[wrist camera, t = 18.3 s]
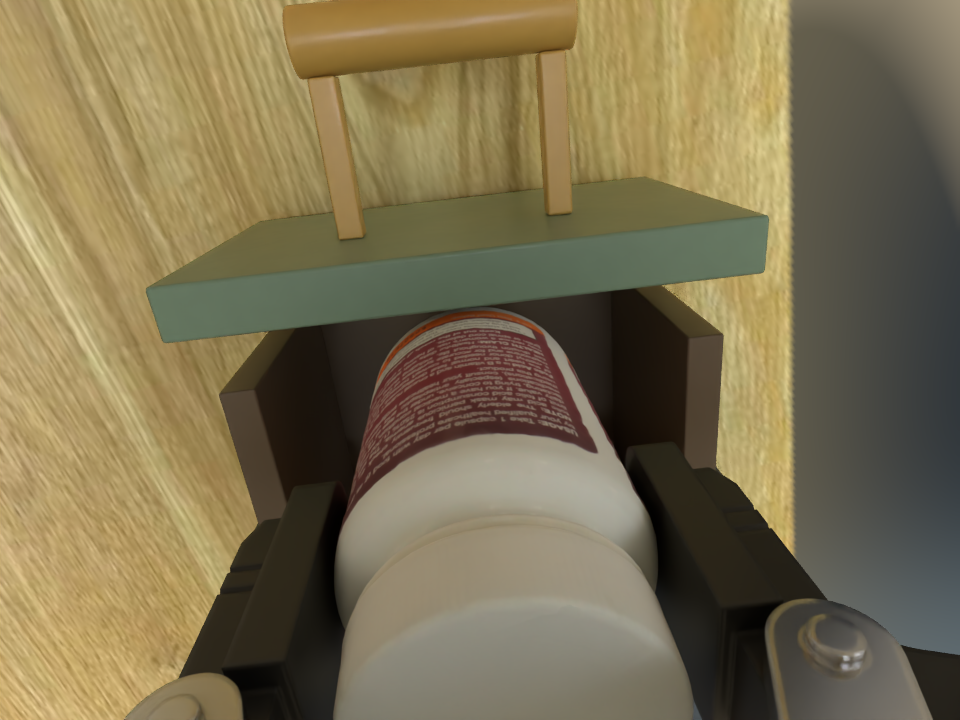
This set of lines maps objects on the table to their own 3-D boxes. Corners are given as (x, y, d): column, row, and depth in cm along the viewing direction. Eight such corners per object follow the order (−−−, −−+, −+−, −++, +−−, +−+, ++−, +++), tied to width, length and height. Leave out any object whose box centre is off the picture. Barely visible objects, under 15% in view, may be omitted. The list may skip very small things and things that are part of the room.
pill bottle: (334, 406, 14) (200, 769, 6) (468, 259, 13) (507, 482, 5) (481, 513, 15) (519, 914, 8) (615, 389, 14) (818, 717, 7)
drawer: (215, 47, 17) (43, -3, 10) (647, -2, 17) (797, -86, 10) (341, 556, 24) (297, 746, 17) (644, 519, 24) (730, 692, 17)
